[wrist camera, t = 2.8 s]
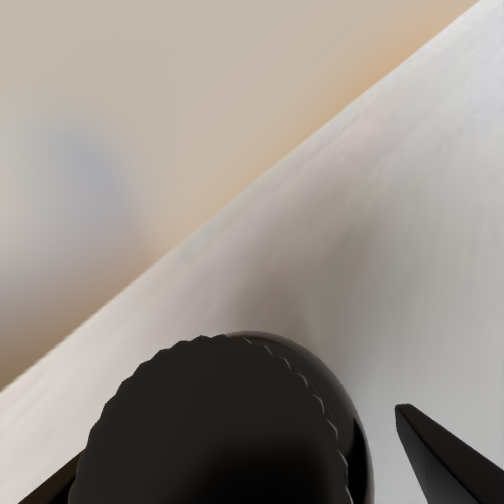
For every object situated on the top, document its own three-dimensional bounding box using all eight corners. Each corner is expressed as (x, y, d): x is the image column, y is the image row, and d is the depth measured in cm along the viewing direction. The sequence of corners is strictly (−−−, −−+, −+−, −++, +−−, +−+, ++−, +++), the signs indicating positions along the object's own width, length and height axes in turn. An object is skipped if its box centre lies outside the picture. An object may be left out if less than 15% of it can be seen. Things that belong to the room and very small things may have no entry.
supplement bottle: (197, 401, 16) (11, 370, 6) (296, 346, 16) (281, 235, 6) (243, 556, 12) (-61, 1225, 2) (369, 477, 13) (603, 689, 3)
